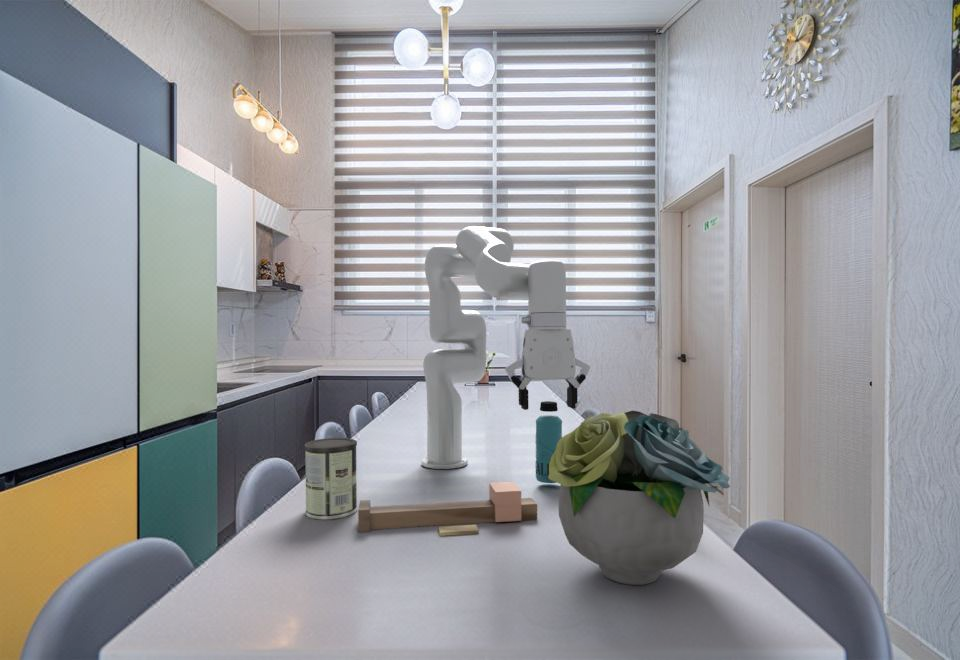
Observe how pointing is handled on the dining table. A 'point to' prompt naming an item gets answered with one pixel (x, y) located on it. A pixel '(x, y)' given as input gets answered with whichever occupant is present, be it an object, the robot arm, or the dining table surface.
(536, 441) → the beverage bottle
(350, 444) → the coffee can
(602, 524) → the flower arrangement
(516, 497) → the block
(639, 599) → the dining table surface
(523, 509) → the beam
